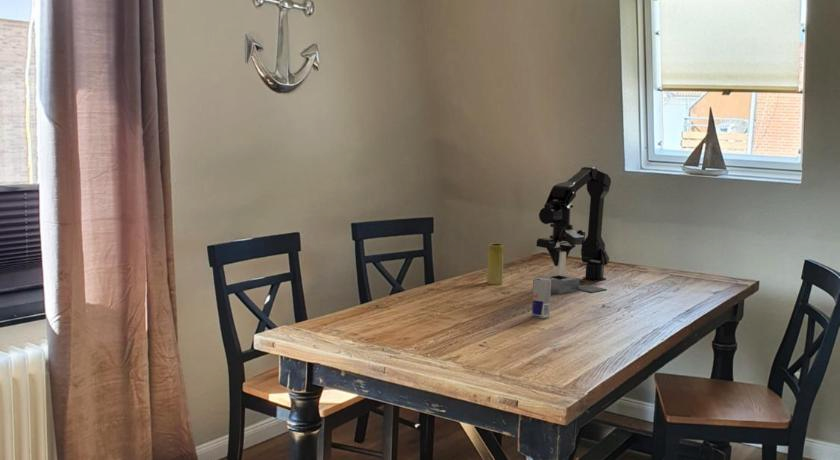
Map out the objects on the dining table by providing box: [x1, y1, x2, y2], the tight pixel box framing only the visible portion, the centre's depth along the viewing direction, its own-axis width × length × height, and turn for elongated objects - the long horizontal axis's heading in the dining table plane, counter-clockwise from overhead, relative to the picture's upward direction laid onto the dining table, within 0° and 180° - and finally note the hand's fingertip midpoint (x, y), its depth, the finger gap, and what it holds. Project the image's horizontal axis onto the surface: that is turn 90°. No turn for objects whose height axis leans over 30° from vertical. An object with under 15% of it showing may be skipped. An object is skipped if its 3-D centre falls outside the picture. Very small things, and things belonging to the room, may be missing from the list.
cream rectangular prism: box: [552, 251, 567, 275], centre depth 301 cm, size 3×3×8 cm
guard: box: [539, 273, 580, 295], centre depth 303 cm, size 10×10×4 cm
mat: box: [579, 284, 608, 294], centre depth 304 cm, size 8×8×1 cm
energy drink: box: [531, 276, 552, 320], centre depth 264 cm, size 5×5×12 cm
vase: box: [486, 242, 504, 286], centre depth 311 cm, size 6×6×14 cm
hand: (559, 265), depth 302 cm, fingers closed on cream rectangular prism, 3 cm apart
